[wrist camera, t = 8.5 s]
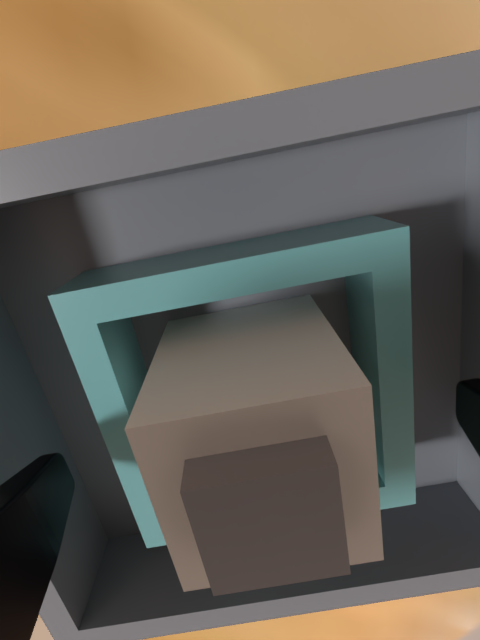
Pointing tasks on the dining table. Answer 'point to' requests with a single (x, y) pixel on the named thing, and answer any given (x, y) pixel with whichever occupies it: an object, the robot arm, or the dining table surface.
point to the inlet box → (239, 291)
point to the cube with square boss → (258, 448)
